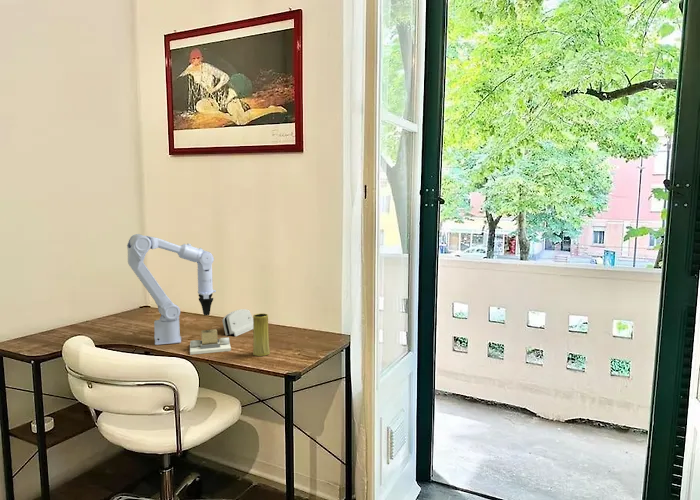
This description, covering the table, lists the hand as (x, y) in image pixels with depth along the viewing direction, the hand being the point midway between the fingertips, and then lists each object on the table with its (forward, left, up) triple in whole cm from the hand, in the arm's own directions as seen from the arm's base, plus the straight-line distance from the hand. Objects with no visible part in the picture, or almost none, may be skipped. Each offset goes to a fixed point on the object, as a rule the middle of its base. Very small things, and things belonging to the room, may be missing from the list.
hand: (206, 313), depth 203 cm
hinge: (+14, +3, -10) cm, 17 cm away
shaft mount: (+1, -18, -9) cm, 20 cm away
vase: (+18, -31, -10) cm, 37 cm away
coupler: (0, -18, -8) cm, 20 cm away
